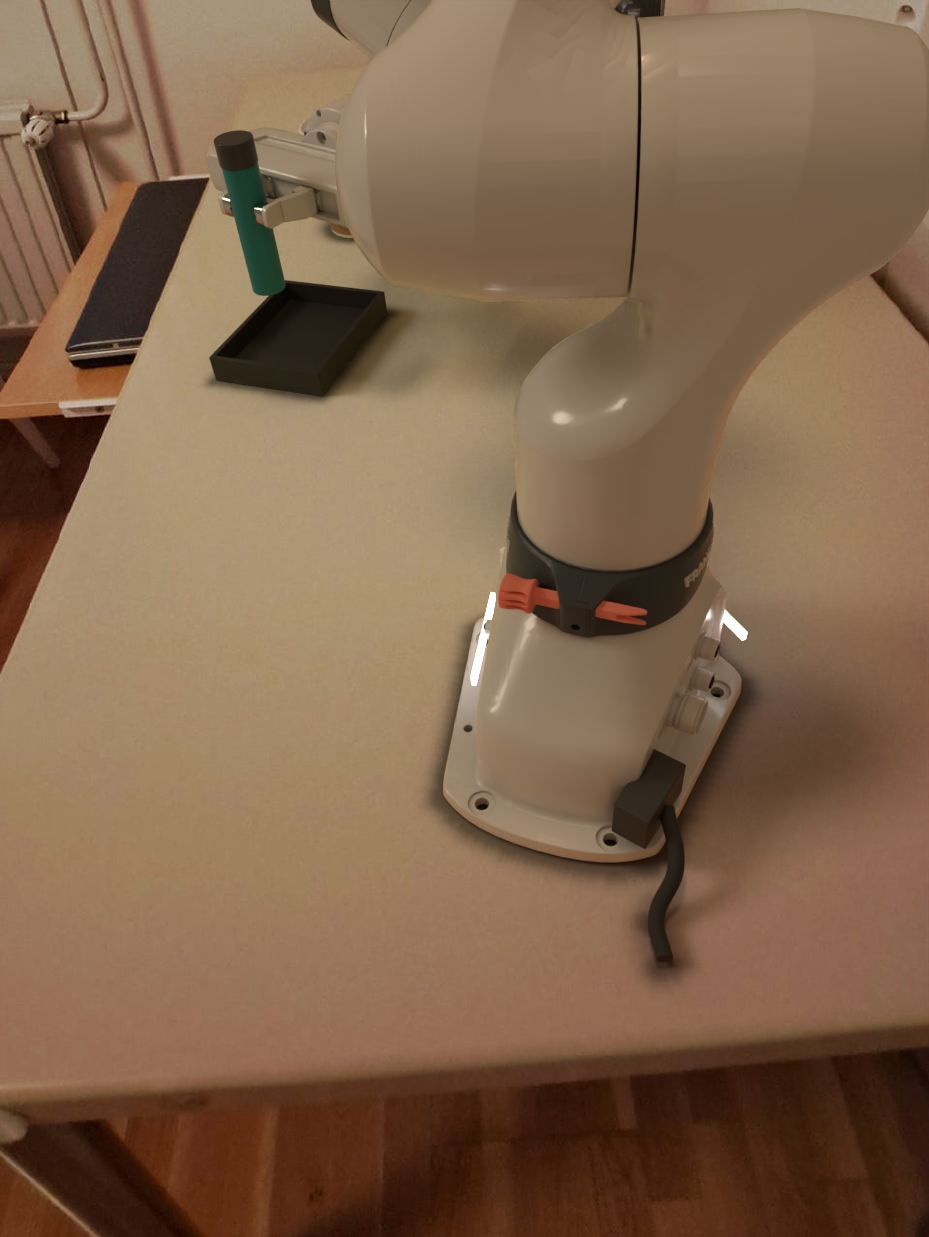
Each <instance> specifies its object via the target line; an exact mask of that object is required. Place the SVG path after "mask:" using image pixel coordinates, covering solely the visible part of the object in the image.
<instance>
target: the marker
mask: <svg viewBox="0 0 929 1237" xmlns="http://www.w3.org/2000/svg"><path fill="white" fill-rule="evenodd" d="M248 131H249V130H242V129H241V130H240V129H239V130H238V129H237V130H230V131H226V132H223V133H220V134H218V135H217V136H216V137H215V138H214V139H213V145H215V149H216V153H217V157H218V161H219V165H220V167H221V168H222V172H223V176H224V179H225V183H226V187H227V191H228V195H229V199H230V203H231V207H232V211H233V215H234V217H233V218H234V222H235V226H236V229H237V235H238V238H239V242H240V246H241V249H242V253H243V257H244V261H245V265H246V269H247V273H248V278H249V280H250V284H251V288H252V292H253V293H254V294H256V295H257V296H262V297H268V296H270V295H274V294H277V293H279V292H281V291H283V290H284V288H285V286H286V284H285V280H286V279H285V275H284V270H283V267H282V263H281V257H280V252H279V249H278V245H277V241H276V236H275V230H274V228H273V229H270V228H267V227H264V226H261V225H258V224H257V222H256V216H255V214H254V206H255V205H256V204H258V203H261V202H262V201H263V200H265V199H266V196H265V192H264V187H263V183H262V178H261V174H260V170H259V165H258V155H257V151H256V147H255V142H254V138H253V135H252V133H251V132H248Z"/></svg>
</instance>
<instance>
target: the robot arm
mask: <svg viewBox="0 0 929 1237" xmlns="http://www.w3.org/2000/svg"><path fill="white" fill-rule="evenodd" d="M620 1H621V0H310V3H311V7H312V9H313V10H312V11H313V12H314V13H315V15H316V16H317V17H318V19H319V20H321V21H322V22H323V23H325V24H326V25H327V26H329V27H330V28H331V29H333V30H334V31H335V32H337V33H338V34H339V35H340V36H341V37H343V38H344V39H345V40H347V41H350V42H351V44H353V45H354V46H355V47H356V48H357V49H358V50H359V51H360V52H361V53H362V54H363V55H365V56H366V57H367V59H369V62H368V63H367V64H366V66H365V67H364V68H363V70H362V72H361V73H360V75H359V76H358V78H357V80H355V83H354V84H353V86H352V89H351V90H350V91H351V92H348V93H347V94H345V95H344V96H341V97H339V98H337V99H335V100H333V101H331V102H329V103H328V104H327V103H326V104H325V105H324V106H321V107H319V108H317V109H316V110H314V111H313V112H312V113H311V114H310V115H309V116H308V117H309V119H308V120H307V123H306V126H305V131H304V135H301V134H300V133H296V132H292V131H288V130H284V129H280V128H276V127H258V128H254V129H251V130H247V131H248V132H251V133H252V135H253V138H254V142H255V147H256V151H257V155H258V165H259V170H260V174H261V178H262V183H263V187H264V192H265V196H266V199H265V200H263V201H262V202H261V203H258V204H256V205H255V206H254V214H255V216H256V222H257V224H258V225H261V226H264V227H267V228H270V229H273V230H274V229H275V228H276V227H279V226H280V225H282V224H284V223H290V222H296V221H301V220H307V219H310V218H312V219H316V220H320V221H322V222H327V223H329V224H330V223H333V224H336V225H339V226H343V227H346V228H349V231H350V233H351V235H352V237H353V238H352V239H353V240H354V242H355V244H356V246H357V248H358V249H359V251H360V253H362V255H363V257H364V258H365V259H366V261H367V262H368V263H369V265H370V266H371V267H372V268H373V269H374V270H375V272H376V273H377V274H378V275H380V277H382V279H384V280H385V281H386V282H387V283H388V284H390V285H391V286H394V287H400V288H404V289H409V290H413V291H414V290H415V291H419V292H423V293H430V294H433V295H439V296H446V297H453V298H459V299H465V300H471V301H477V302H483V303H489V302H491V303H493V302H520V301H521V302H523V301H552V300H581V299H582V300H585V299H586V300H587V299H615V298H616V299H617V298H620V299H621V298H624V299H623V300H622V301H621V302H620V303H619V304H618V305H617V307H615V308H613V310H612V311H611V312H609V313H608V314H606V315H605V316H604V317H602V318H600V319H599V320H597V321H595V322H594V323H591V324H590V325H588V326H586V327H584V328H582V329H579V330H578V331H576V332H574V333H572V334H571V335H569V336H567V337H565V338H564V339H562V340H560V341H559V342H557V343H556V344H555V345H553V346H552V347H551V348H550V349H549V350H548V351H547V352H546V353H545V354H544V355H543V356H542V357H541V358H540V359H539V360H538V362H536V364H535V365H534V366H533V367H532V369H531V370H530V371H529V372H528V374H527V375H526V377H525V378H524V380H523V382H522V384H521V386H520V388H519V390H518V392H517V394H516V398H515V400H514V401H515V402H514V406H513V412H512V418H513V419H512V422H513V425H512V426H513V447H514V448H513V450H514V472H515V473H514V474H515V492H514V494H513V497H512V500H511V505H510V506H511V507H510V511H509V512H510V513H509V517H508V522H507V528H506V539H505V540H506V542H505V546H502V547H500V549H499V560H500V561H499V562H500V572H499V577H498V582H497V586H496V592H492V591H490V594H489V598H488V602H487V606H486V611H485V615H484V616H483V617H481V618H479V619H478V620H477V621H476V622H475V623H474V626H473V630H472V635H471V640H470V645H469V649H468V655H467V659H466V665H465V670H464V674H463V680H462V683H461V684H462V685H461V690H460V695H459V700H458V705H457V709H456V715H455V719H454V725H453V729H452V734H451V739H450V744H449V748H448V749H449V750H448V755H447V760H446V764H445V769H444V776H443V781H442V782H443V783H442V794H443V797H444V799H445V800H446V801H447V802H448V804H449V805H450V806H451V807H452V808H453V809H454V810H455V811H456V812H457V813H458V814H459V815H460V816H462V817H463V818H464V819H465V820H467V821H468V822H470V824H471V823H472V824H473V825H475V826H476V827H478V829H481V830H483V831H485V832H487V833H489V834H491V835H493V836H495V837H498V838H500V839H503V840H505V841H507V842H510V843H511V844H515V845H519V846H521V847H525V848H527V849H530V850H533V851H536V852H541V853H544V854H549V855H552V856H557V857H561V858H566V859H572V860H578V861H583V862H594V863H624V862H626V863H627V862H633V861H639V860H644V859H647V858H651V857H654V856H656V855H657V854H659V853H660V851H661V850H662V848H663V847H664V845H665V844H666V848H667V849H666V850H667V867H666V872H665V875H664V877H663V880H662V881H661V883H660V886H659V887H658V889H657V890H656V892H655V894H654V896H653V897H652V900H651V903H650V905H649V909H648V916H647V929H648V936H649V938H650V942H651V945H652V949H653V951H654V955H655V960H656V962H659V963H667V962H671V961H673V959H674V956H673V955H674V954H673V951H672V947H671V944H670V942H669V939H668V936H667V932H666V925H665V923H666V916H667V911H668V909H669V907H670V904H671V903H672V900H673V899H674V897H675V895H676V894H677V892H678V890H679V888H680V886H681V883H682V881H683V877H684V874H685V864H686V860H685V858H686V856H685V854H686V853H685V846H684V841H683V836H682V833H681V828H680V825H679V822H678V818H679V817H680V814H681V812H682V810H683V808H684V806H685V804H686V803H687V800H688V798H689V796H690V795H691V793H692V791H693V789H694V786H695V785H696V782H697V781H698V778H699V777H700V774H701V773H702V770H703V769H704V767H705V764H706V763H707V760H708V759H709V756H710V755H711V753H712V751H713V749H714V747H715V745H716V743H717V741H718V740H719V737H720V735H721V733H722V731H723V729H724V728H725V725H726V724H727V721H728V719H729V717H730V715H731V714H732V712H733V709H734V708H735V705H736V704H737V701H738V700H739V698H740V695H741V693H742V677H741V675H740V673H739V671H737V669H736V668H735V667H734V666H733V665H732V664H731V663H729V661H727V660H726V659H725V658H724V657H722V656H721V655H720V654H719V652H720V648H721V645H722V641H721V639H722V632H723V626H724V624H725V625H726V627H727V628H729V629H730V630H731V631H732V632H733V633H734V634H735V635H736V637H738V638H739V639H740V640H741V641H745V640H747V636H748V631H747V630H746V629H745V628H744V627H743V626H742V625H741V624H740V623H739V622H738V621H737V620H736V619H735V618H734V617H733V616H732V615H731V614H730V613H729V612H728V611H727V610H726V604H727V598H728V592H727V591H726V589H724V587H723V584H722V583H721V582H720V581H719V580H718V579H717V577H716V576H715V575H714V574H713V572H712V570H711V569H710V567H709V565H708V562H709V556H710V554H711V552H712V547H713V541H714V540H713V539H714V533H715V531H714V529H715V528H714V509H713V503H712V500H711V497H710V496H711V490H712V484H713V479H714V474H715V470H716V466H717V461H718V458H719V453H720V449H721V445H722V441H723V438H724V435H725V430H726V427H727V423H728V420H729V417H730V415H731V412H732V410H733V407H734V405H735V404H736V402H737V400H738V398H739V396H740V394H741V393H742V390H743V389H744V387H745V385H747V383H748V381H749V379H750V378H751V377H752V375H753V374H754V373H755V371H756V370H757V369H758V368H759V366H760V365H761V364H762V362H764V360H765V359H766V358H767V356H768V355H769V354H771V352H772V351H773V350H774V348H775V347H777V345H778V344H779V343H780V342H781V341H782V340H783V339H784V338H785V337H786V336H787V335H789V333H790V332H791V331H793V329H794V328H795V327H797V325H799V324H800V323H801V322H802V321H803V320H804V319H806V318H807V317H808V316H809V315H810V314H812V313H813V312H814V311H815V310H817V309H818V308H819V307H821V306H823V305H824V303H826V302H828V300H830V299H832V297H834V296H836V295H837V294H839V293H840V292H842V291H844V290H845V289H847V288H849V287H851V286H852V285H853V284H855V283H857V282H859V281H861V280H862V279H864V278H867V277H868V276H870V275H872V274H874V273H877V271H879V270H881V269H882V268H883V267H884V266H885V265H887V263H889V262H890V261H891V260H892V259H893V258H894V257H896V255H897V254H898V253H899V252H900V251H901V250H902V248H903V247H905V245H906V244H907V243H908V242H909V240H910V239H911V238H912V237H913V235H914V234H915V232H916V231H917V230H918V228H919V227H920V225H921V224H922V222H923V220H924V219H925V217H926V215H927V214H928V212H929V47H928V46H927V45H926V43H925V42H924V40H923V39H922V38H921V36H920V35H919V34H918V33H917V32H916V31H915V30H914V29H913V28H911V27H909V26H906V25H900V24H895V23H890V22H885V21H880V20H875V19H871V18H865V17H861V16H856V15H849V14H841V13H834V12H826V11H821V10H814V9H807V8H801V7H795V8H792V7H791V8H778V9H762V10H761V9H759V10H744V11H743V10H742V11H727V12H726V11H725V12H710V13H709V12H708V13H693V14H676V15H674V14H673V15H664V16H657V17H640V18H636V20H635V16H634V15H624V14H621V13H618V12H617V11H616V10H615V8H616V6H617V5H618V3H619V2H620ZM205 159H206V163H207V167H208V171H209V175H210V178H211V183H212V185H213V187H214V188H215V189H216V190H217V191H220V194H219V195H218V204H219V208H220V211H221V213H222V214H223V215H225V216H228V217H232V218H234V215H233V211H232V207H231V203H230V199H229V195H228V191H227V187H226V183H225V179H224V176H223V172H222V168H221V167H220V165H219V161H218V157H217V153H216V149H215V145H214V144H213V145H211V146H210V147H208V150H207V151H206V154H205ZM714 695H719V696H718V697H717V696H714ZM480 805H485V806H487V808H485V809H478V807H479V806H480ZM606 840H611V841H614V842H615V844H613V845H609V844H606V843H605V841H606Z"/></svg>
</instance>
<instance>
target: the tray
mask: <svg viewBox="0 0 929 1237" xmlns="http://www.w3.org/2000/svg"><path fill="white" fill-rule="evenodd" d="M285 284H286V286H285V288H284V290H283V291H281V292H279V293H277V294H274V295H270V296H266V298H264V300H263V301H262V302H261V303H260V304H259V305H258V306H257V307H255V308H256V309H254V310H253V311H252V312H251V313H250V314H249V315H248V316H247V318H246V319H244V320H243V322H242V323H241V324H240V325H239V326H237V328H236V329H235V330H234V331H233V332H232V333H230V335H229V336H228V337H227V338H226V339H225V341H223V342H222V344H221V345H220V346H219V347H217V348H216V350H214V351H213V352H212V354H211V355H210V356H209V357H208V358H209V362H210V365H211V368H212V372H213V375H214V379H215V380H216V381H220V382H227V383H233V384H240V385H246V386H252V387H259V388H265V389H271V390H278V391H285V392H290V393H291V392H292V393H298V394H305V395H311V396H317V397H324V396H325V394H326V393H327V392H328V391H329V389H330V388H331V386H332V385H333V384H334V383H335V381H336V380H338V377H339V376H340V375H341V374H342V372H343V371H344V370H345V368H347V366H348V365H349V363H351V361H352V360H353V358H354V357H355V356H356V355H357V353H358V352H359V351H360V349H361V348H362V347H363V346H364V344H365V343H366V342H367V341H368V339H369V338H370V337H371V335H372V334H373V333H374V332H375V331H376V329H377V328H378V327H379V325H380V324H381V323H382V322H383V320H384V319H385V318H386V316H387V315H388V308H387V302H386V301H387V300H386V295H385V293H386V292H385V291H384V290H374V289H366V288H356V287H348V286H339V285H331V284H324V283H323V284H322V283H313V282H307V281H306V282H304V281H297V280H289V279H285Z"/></svg>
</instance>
